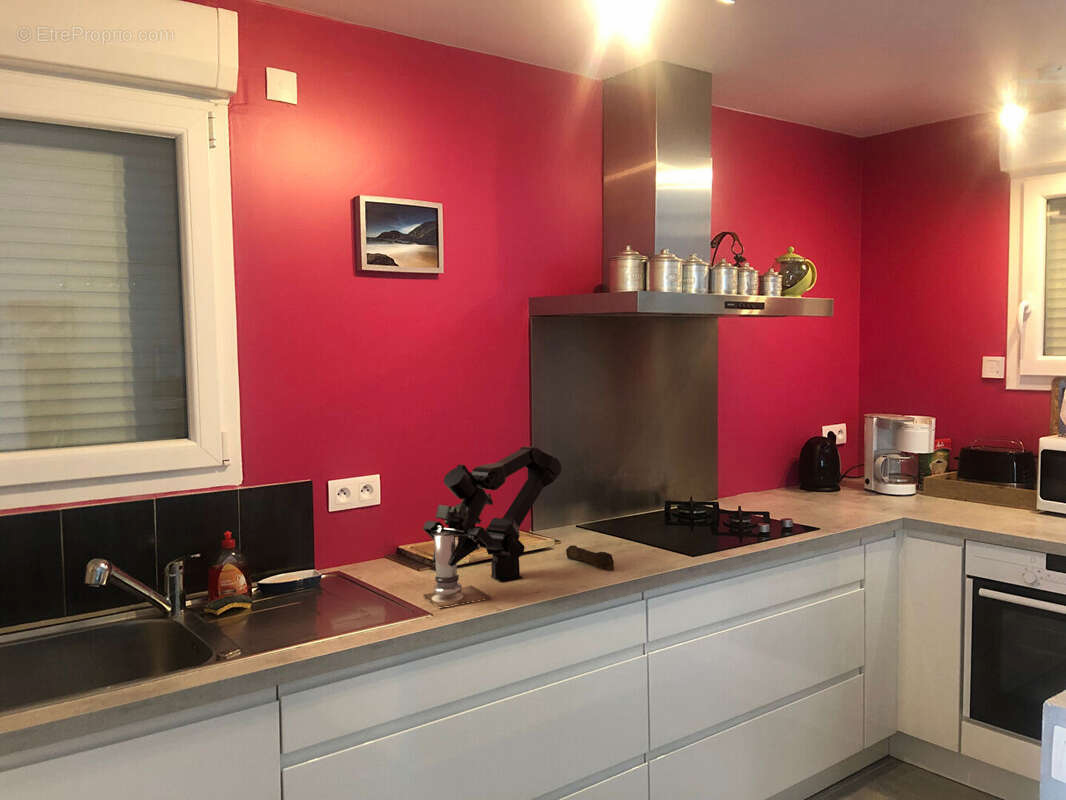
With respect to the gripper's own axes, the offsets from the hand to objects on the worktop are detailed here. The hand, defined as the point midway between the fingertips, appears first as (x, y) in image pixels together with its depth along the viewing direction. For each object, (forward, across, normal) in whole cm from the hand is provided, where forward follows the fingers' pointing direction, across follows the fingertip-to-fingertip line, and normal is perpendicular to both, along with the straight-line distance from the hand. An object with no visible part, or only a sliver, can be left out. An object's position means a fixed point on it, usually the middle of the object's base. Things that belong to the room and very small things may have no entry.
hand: (442, 564), depth 206 cm
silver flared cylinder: (+4, 0, +6) cm, 7 cm away
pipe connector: (-15, -21, +29) cm, 39 cm away
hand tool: (-25, +12, +40) cm, 49 cm away
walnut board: (+4, +1, +9) cm, 10 cm away
